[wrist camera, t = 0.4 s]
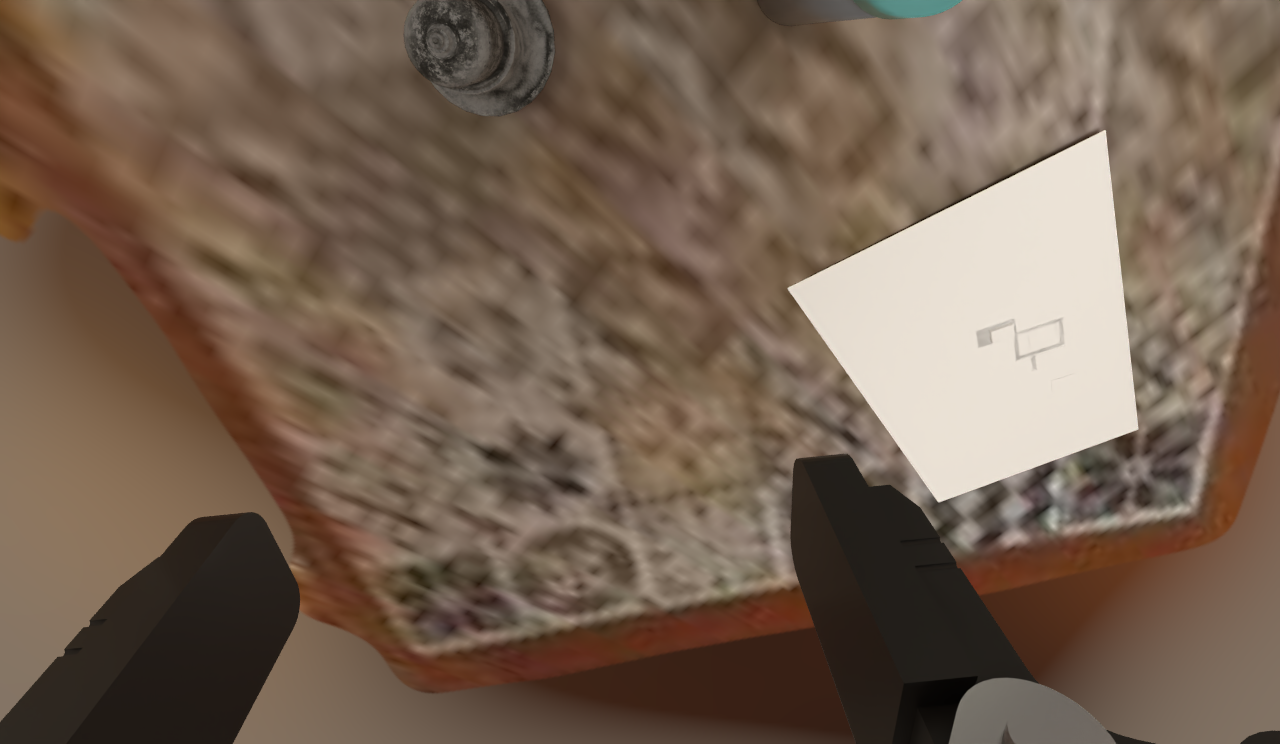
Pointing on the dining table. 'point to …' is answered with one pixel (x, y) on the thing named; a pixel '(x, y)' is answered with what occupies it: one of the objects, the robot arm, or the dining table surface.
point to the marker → (849, 10)
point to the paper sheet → (990, 325)
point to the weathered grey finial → (482, 51)
